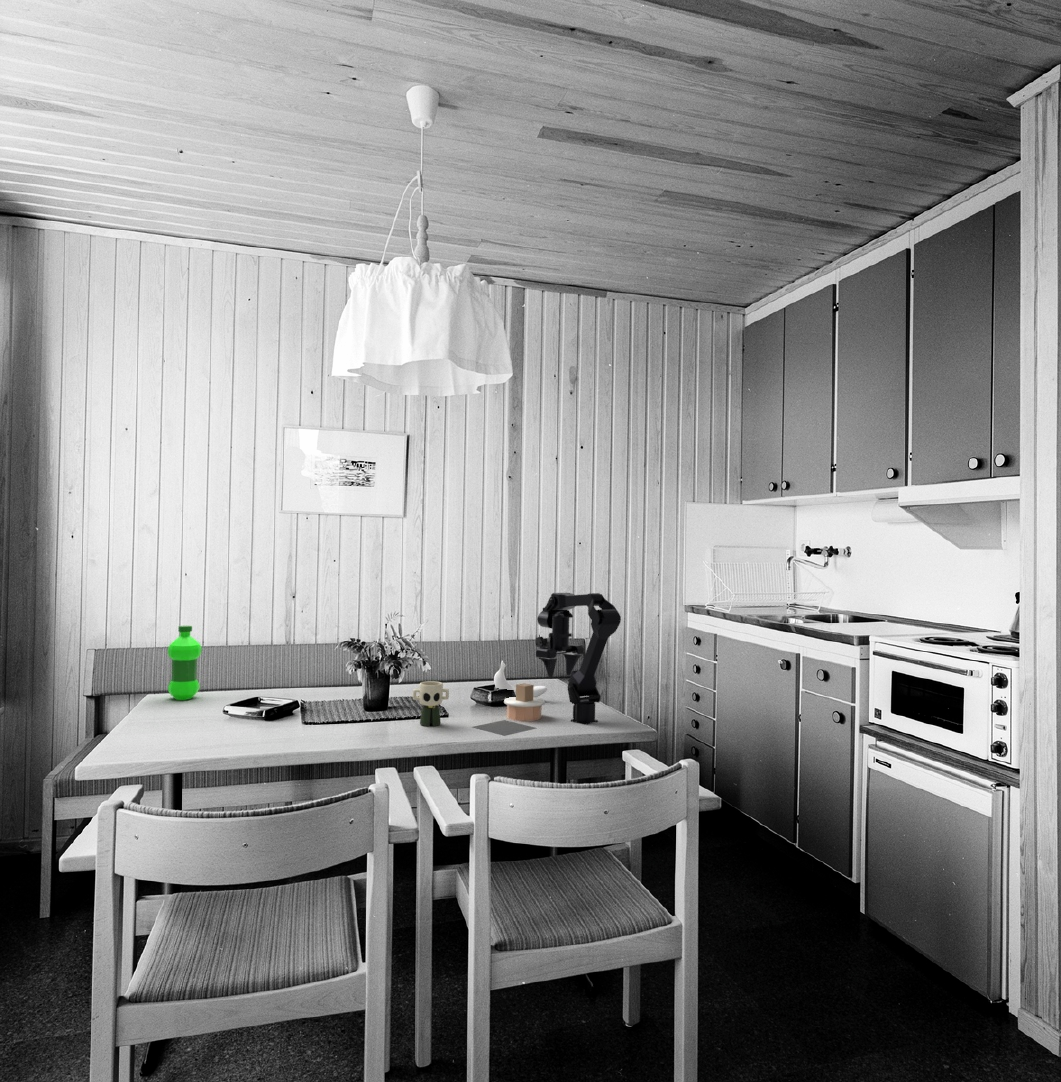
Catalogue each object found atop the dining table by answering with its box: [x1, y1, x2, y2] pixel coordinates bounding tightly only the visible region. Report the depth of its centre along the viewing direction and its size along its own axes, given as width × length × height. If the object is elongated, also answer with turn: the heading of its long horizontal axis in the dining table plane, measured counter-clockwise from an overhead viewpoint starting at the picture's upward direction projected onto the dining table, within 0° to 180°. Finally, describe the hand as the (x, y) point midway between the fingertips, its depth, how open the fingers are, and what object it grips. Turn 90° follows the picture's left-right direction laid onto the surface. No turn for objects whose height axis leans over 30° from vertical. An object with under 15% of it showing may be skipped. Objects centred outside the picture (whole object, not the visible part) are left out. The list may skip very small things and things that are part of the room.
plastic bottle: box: [167, 625, 202, 701], centre depth 268 cm, size 10×10×25 cm
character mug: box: [412, 680, 450, 727], centre depth 237 cm, size 11×7×13 cm, turn 103°
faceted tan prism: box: [506, 704, 543, 722], centre depth 250 cm, size 11×11×5 cm
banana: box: [493, 660, 548, 698], centre depth 277 cm, size 5×19×15 cm, turn 96°
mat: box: [472, 719, 537, 736], centre depth 235 cm, size 14×14×1 cm
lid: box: [503, 682, 546, 707], centre depth 250 cm, size 13×13×6 cm
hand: (559, 676), depth 259 cm, fingers open, 9 cm apart
